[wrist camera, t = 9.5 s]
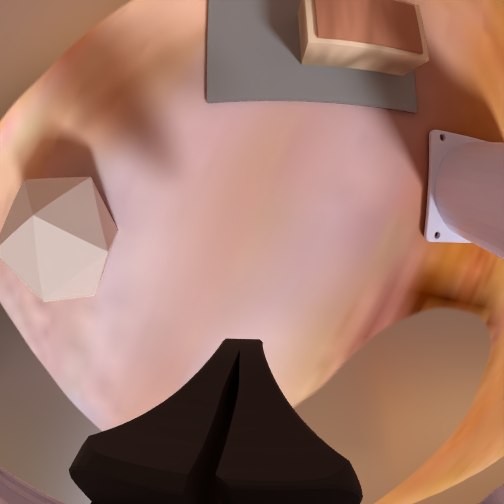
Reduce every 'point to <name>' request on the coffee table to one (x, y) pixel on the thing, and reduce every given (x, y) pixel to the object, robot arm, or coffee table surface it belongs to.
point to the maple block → (362, 35)
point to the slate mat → (286, 62)
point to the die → (58, 237)
